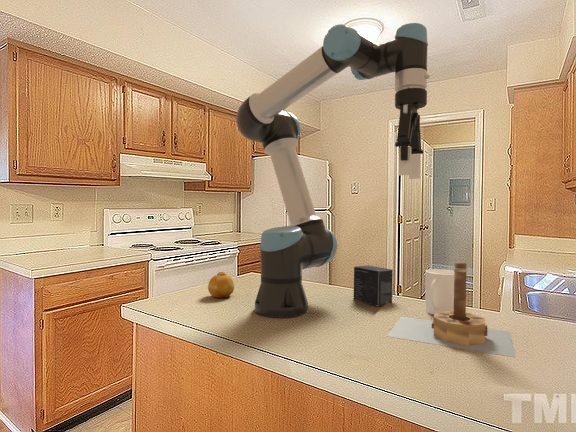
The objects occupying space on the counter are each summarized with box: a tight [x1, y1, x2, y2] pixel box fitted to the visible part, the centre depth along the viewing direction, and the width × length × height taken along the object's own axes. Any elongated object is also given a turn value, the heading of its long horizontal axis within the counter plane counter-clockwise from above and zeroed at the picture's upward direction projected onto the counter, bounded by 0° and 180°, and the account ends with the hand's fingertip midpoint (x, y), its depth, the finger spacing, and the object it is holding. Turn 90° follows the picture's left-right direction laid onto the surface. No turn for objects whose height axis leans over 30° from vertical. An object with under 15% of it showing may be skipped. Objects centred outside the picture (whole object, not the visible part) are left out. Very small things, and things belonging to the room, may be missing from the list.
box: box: [352, 264, 393, 307], centre depth 115 cm, size 11×7×10 cm, turn 34°
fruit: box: [207, 271, 235, 299], centre depth 121 cm, size 8×8×8 cm
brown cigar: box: [453, 261, 468, 321], centre depth 81 cm, size 2×2×16 cm
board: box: [386, 316, 516, 358], centre depth 83 cm, size 24×16×1 cm, turn 62°
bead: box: [432, 311, 488, 345], centre depth 81 cm, size 11×10×4 cm
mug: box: [424, 268, 454, 316], centre depth 98 cm, size 12×8×12 cm
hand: (410, 177), depth 93 cm, fingers open, 13 cm apart
